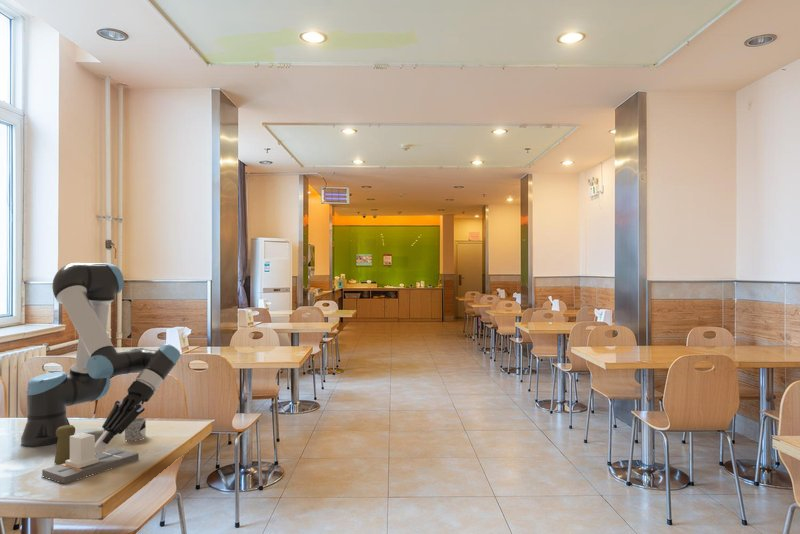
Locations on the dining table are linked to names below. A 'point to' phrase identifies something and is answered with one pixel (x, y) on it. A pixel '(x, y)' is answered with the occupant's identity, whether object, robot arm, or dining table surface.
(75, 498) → the dining table surface
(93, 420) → the dining table surface
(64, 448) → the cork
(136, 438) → the mug
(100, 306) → the robot arm
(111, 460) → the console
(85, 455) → the slider handle
